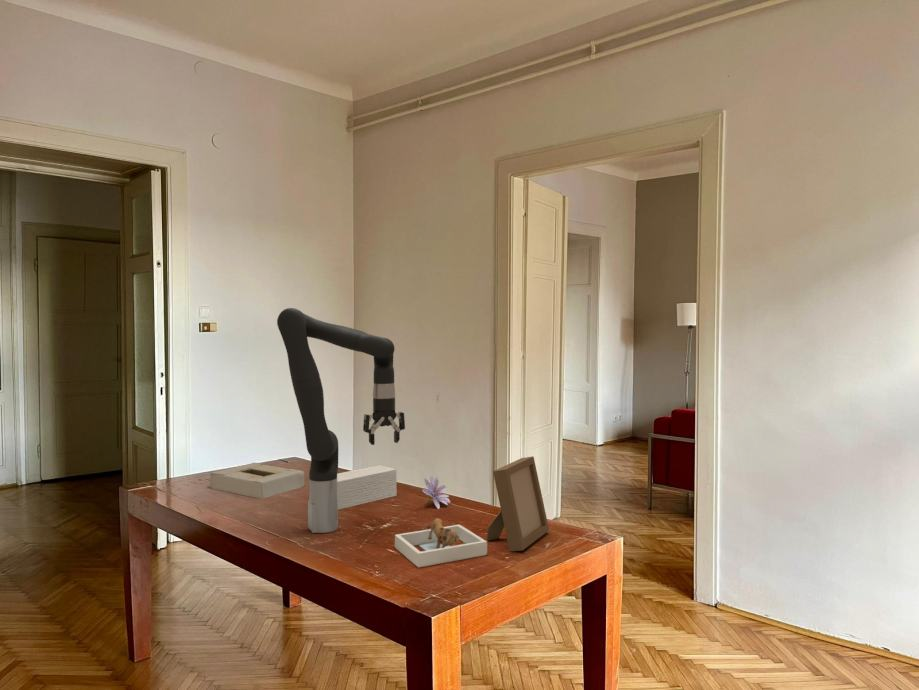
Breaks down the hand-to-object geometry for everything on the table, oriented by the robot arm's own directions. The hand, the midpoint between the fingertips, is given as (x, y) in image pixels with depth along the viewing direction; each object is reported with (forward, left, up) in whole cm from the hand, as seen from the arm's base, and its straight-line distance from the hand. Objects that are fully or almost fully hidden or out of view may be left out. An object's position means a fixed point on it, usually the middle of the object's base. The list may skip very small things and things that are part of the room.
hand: (384, 443), depth 228 cm
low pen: (+6, -32, -28) cm, 43 cm away
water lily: (+26, +13, -28) cm, 41 cm away
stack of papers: (0, +34, -29) cm, 44 cm away
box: (-30, +72, -29) cm, 83 cm away
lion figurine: (+6, -30, -27) cm, 41 cm away
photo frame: (+32, -33, -28) cm, 54 cm away
